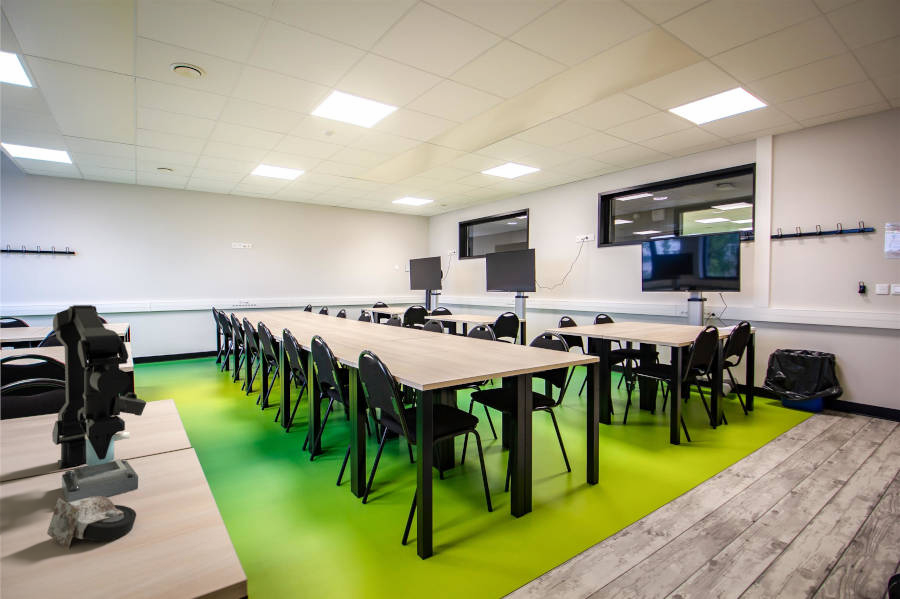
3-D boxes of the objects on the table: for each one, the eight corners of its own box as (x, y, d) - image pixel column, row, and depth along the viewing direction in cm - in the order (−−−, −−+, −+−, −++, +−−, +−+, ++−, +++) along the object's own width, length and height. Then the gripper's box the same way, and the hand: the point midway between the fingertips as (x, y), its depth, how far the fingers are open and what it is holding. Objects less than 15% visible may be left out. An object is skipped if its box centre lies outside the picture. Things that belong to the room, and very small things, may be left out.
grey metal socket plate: (61, 487, 98) (62, 468, 98) (126, 472, 107) (126, 454, 107) (68, 507, 89) (68, 485, 89) (138, 488, 98) (138, 469, 98)
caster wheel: (138, 540, 82) (79, 562, 73) (103, 516, 86) (42, 534, 77) (149, 506, 82) (92, 524, 73) (113, 484, 87) (54, 498, 77)
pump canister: (83, 461, 98) (83, 432, 98) (126, 451, 104) (126, 425, 104) (87, 467, 94) (87, 438, 94) (131, 457, 100) (131, 429, 100)
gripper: (152, 390, 98) (151, 457, 98) (134, 378, 110) (133, 438, 110) (89, 398, 89) (88, 471, 90) (77, 384, 102) (77, 448, 102)
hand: (100, 456), depth 98 cm, fingers closed on pump canister, 5 cm apart
